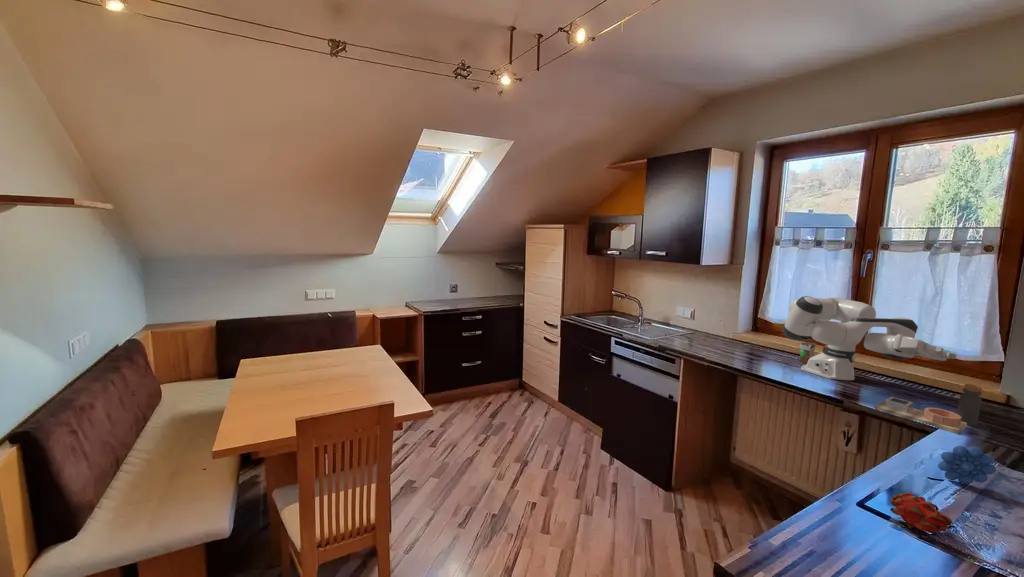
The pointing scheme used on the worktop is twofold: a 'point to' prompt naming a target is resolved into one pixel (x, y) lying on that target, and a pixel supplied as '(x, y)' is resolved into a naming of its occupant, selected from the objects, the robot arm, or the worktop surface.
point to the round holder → (942, 416)
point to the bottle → (970, 404)
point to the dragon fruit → (919, 513)
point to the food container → (806, 351)
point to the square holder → (899, 404)
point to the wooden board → (920, 418)
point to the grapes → (967, 465)
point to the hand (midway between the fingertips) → (948, 353)
